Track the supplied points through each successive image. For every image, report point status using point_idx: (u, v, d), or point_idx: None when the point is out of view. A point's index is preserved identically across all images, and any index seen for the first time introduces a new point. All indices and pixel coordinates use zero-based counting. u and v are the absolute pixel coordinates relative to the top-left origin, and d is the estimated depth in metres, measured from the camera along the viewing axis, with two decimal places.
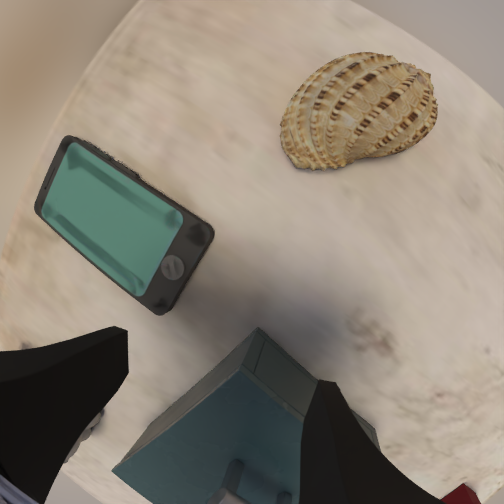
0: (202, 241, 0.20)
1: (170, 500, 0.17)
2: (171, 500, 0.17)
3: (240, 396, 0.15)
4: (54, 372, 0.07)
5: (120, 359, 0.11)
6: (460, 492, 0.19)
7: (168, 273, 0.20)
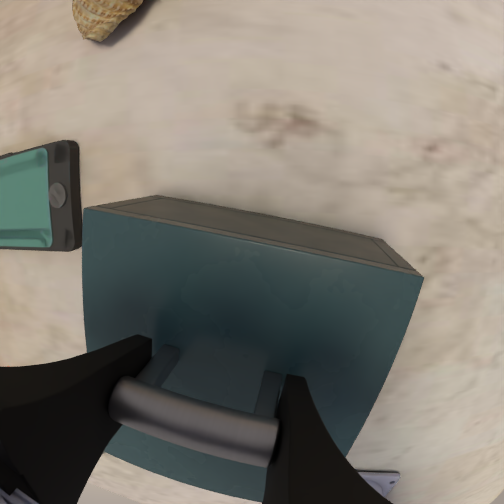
0: (66, 154, 0.17)
1: (171, 461, 0.14)
2: (171, 460, 0.14)
3: (103, 241, 0.11)
4: (83, 387, 0.07)
5: None
6: None
7: (56, 203, 0.17)
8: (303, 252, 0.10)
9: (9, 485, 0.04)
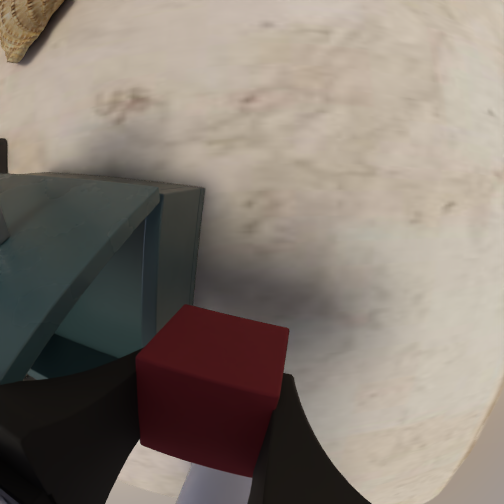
0: None
1: None
2: None
3: None
4: (109, 398, 0.07)
5: None
6: None
7: None
8: None
9: None
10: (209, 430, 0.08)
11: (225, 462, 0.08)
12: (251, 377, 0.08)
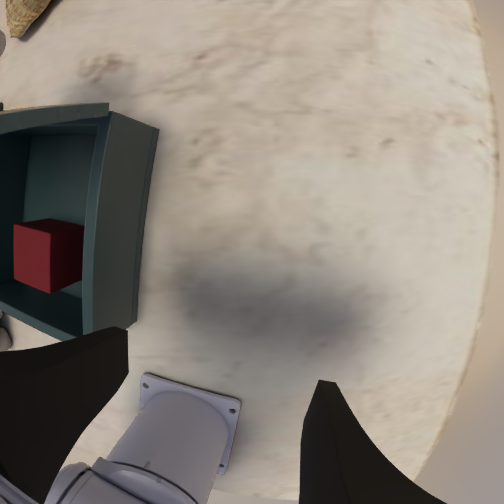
0: None
1: None
2: None
3: None
4: (54, 372, 0.07)
5: (120, 359, 0.11)
6: None
7: None
8: (51, 105, 0.14)
9: None
10: (33, 258, 0.17)
11: (39, 281, 0.17)
12: (47, 230, 0.17)
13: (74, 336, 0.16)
